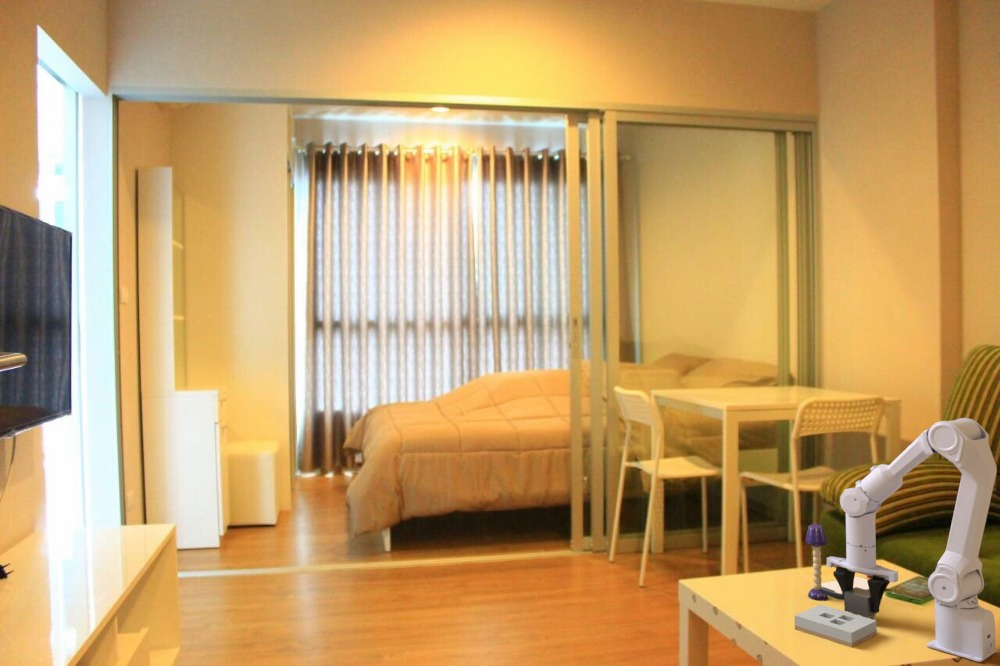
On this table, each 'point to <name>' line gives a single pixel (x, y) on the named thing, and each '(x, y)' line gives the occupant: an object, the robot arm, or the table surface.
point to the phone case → (835, 590)
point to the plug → (858, 602)
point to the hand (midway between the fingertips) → (861, 607)
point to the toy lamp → (816, 560)
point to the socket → (836, 625)
